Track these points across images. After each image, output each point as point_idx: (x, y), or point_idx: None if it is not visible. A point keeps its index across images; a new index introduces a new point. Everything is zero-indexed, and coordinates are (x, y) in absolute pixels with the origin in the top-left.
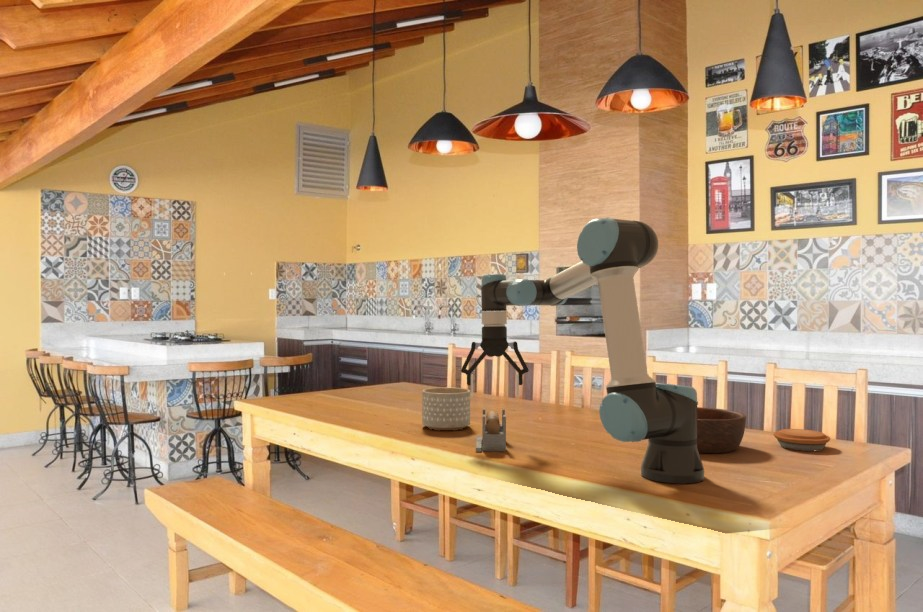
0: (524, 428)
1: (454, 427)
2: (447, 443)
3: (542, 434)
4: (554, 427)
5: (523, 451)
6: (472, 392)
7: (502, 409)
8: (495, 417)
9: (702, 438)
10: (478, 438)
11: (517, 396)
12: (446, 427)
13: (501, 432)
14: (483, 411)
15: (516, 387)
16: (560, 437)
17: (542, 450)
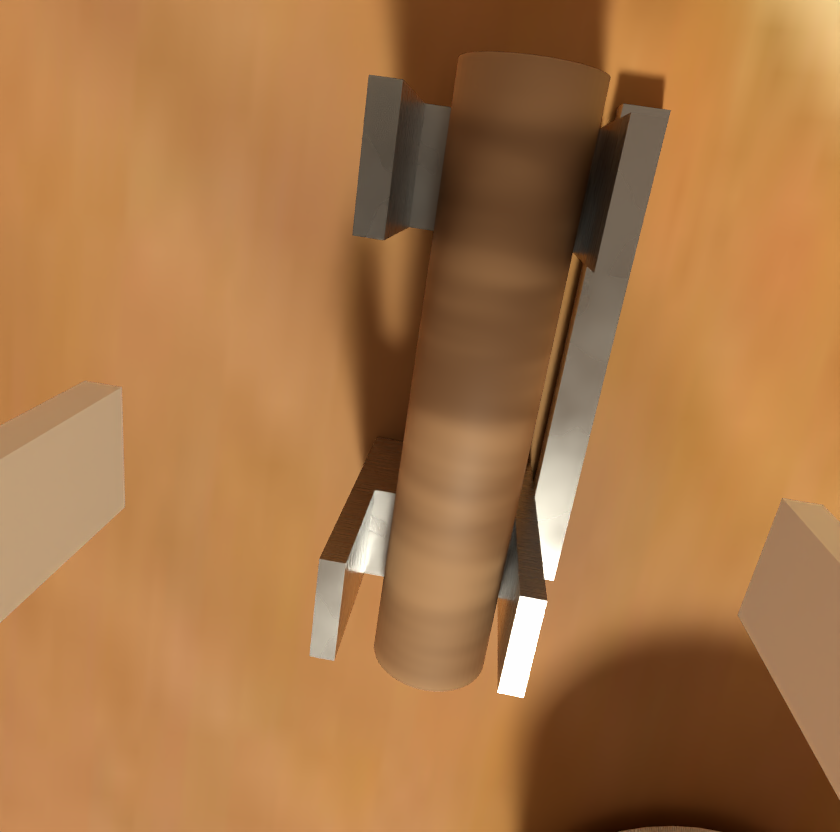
0: (201, 806)
1: (649, 827)
2: (799, 458)
3: (108, 639)
4: (31, 801)
5: (284, 104)
6: (829, 535)
7: (340, 585)
8: (459, 330)
9: None
10: (564, 472)
11: (105, 387)
12: (707, 830)
13: (428, 189)
14: (538, 588)
15: (29, 441)
16: None
17: (141, 130)
